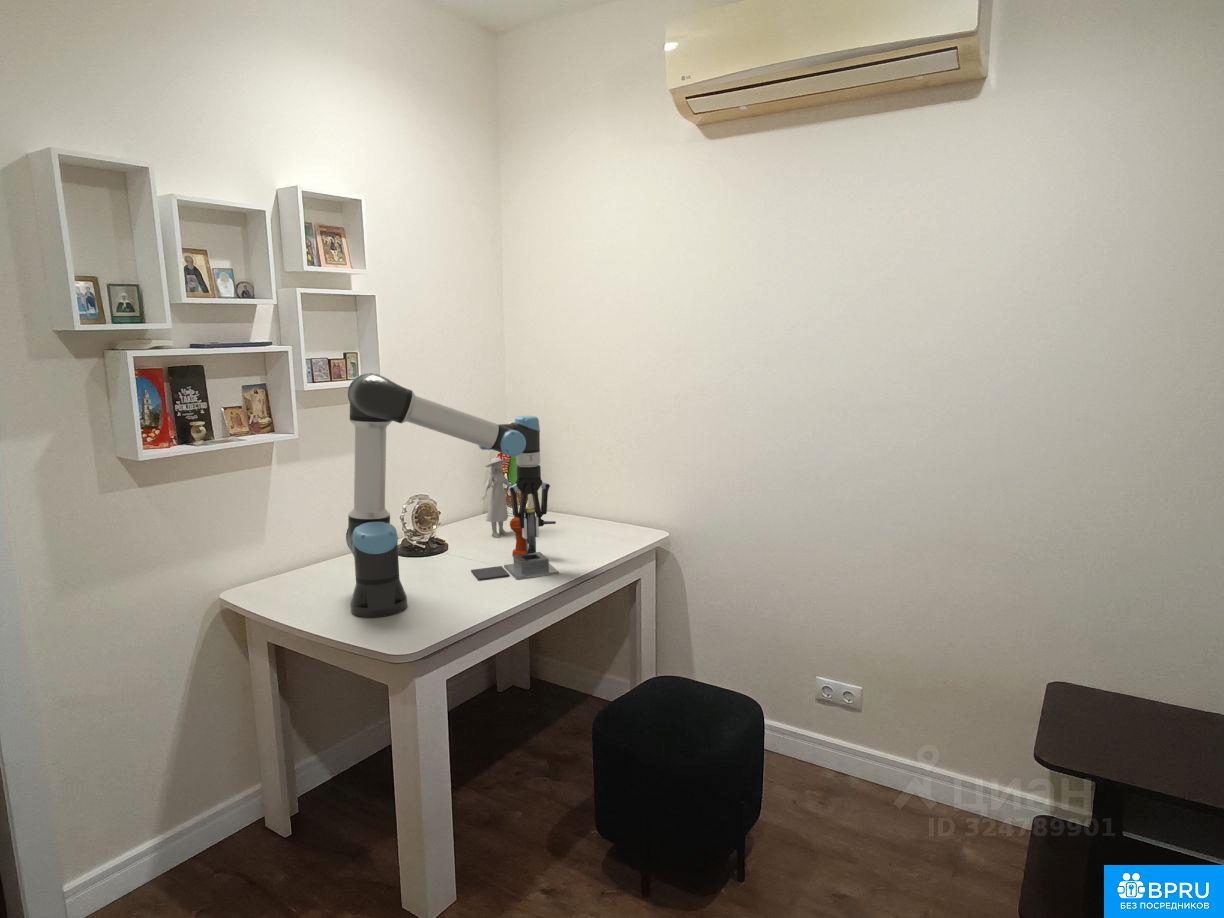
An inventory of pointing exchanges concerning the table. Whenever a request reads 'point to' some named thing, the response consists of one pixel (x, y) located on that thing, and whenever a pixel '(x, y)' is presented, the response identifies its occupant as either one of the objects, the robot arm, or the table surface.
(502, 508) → the character figure
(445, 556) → the table surface
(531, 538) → the gold capped cylinder
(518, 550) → the toy drill
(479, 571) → the mat
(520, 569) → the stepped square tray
